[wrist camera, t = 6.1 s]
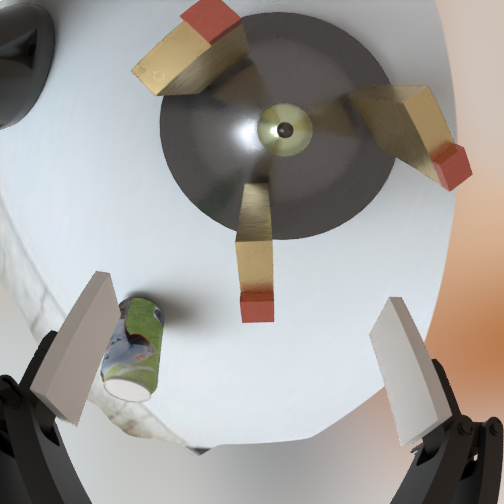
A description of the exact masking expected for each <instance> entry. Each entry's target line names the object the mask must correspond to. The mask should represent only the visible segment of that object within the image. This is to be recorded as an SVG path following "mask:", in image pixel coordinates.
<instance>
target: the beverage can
mask: <svg viewBox="0 0 504 504" xmlns="http://www.w3.org/2000/svg"><path fill="white" fill-rule="evenodd" d="M119 309H120V312H121V316H120V318H119V321H118V323H117V325H116V327H115V329H114V332H113V334H112V336H111V339H110V341H109V343H108V345H107V348H106V351H105V355H104V359H103V363H102V367H101V378H102V380H103V382H104V385H103V386H104V389H105V390H106V391H107V392H108V393H109V394H110V395H112V396H113V397H115V398H118V399H120V400H123V401H127V402H134V403H139V402H145V401H148V400H149V399H150V397H151V394H152V393H153V392H154V391H155V390H156V388H157V384H158V372H159V362H160V352H161V343H162V335H163V327H164V314H163V312H162V310H161V309H160V308H159V307H158V306H157V305H156V304H154V303H153V302H151V301H149V300H146V299H143V298H128V299H126V300H123V301H122V302H121V303H120V304H119Z"/></svg>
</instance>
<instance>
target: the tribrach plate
mask: <svg viewBox="0 0 504 504" xmlns="http://www.w3.org/2000/svg"><path fill="white" fill-rule="evenodd" d="M241 20H242V23H243V27H244V31H245V34H246V38H247V42H248V46H249V50H250V54H249V55H247V56H246V57H244V58H243V59H242V60H240V61H239V62H238V63H236V64H235V65H234V66H232V67H231V68H230V69H229V70H227V71H226V72H225V73H224V74H222V75H221V76H220V77H219V78H217V79H216V80H215V81H214V82H212V83H211V84H210V85H209V86H208V87H207V88H205V89H204V90H203V91H202V92H201V93H200V94H180V95H164V97H163V101H162V105H161V113H160V137H161V143H162V148H163V153H164V156H165V159H166V162H167V165H168V167H169V169H170V171H171V173H172V175H173V177H174V179H175V181H176V182H177V184H178V185H179V187H180V188H181V190H182V191H183V193H184V194H185V195H186V196H187V197H188V198H189V200H190V201H191V202H192V203H193V204H194V205H195V206H196V207H198V208H199V209H200V210H201V211H202V212H203V213H205V214H206V215H207V216H209V217H210V218H212V219H213V220H214V221H216V222H218V223H220V224H222V225H223V226H225V227H227V228H229V229H232V230H234V231H237V228H238V222H239V216H240V210H241V204H242V198H243V192H244V186H245V184H250V183H268V187H269V200H270V214H271V229H272V239H276V240H288V239H299V238H305V237H310V236H314V235H317V234H321V233H324V232H327V231H329V230H331V229H333V228H336V227H338V226H340V225H341V224H343V223H345V222H347V221H348V220H350V219H351V218H353V217H354V216H355V215H357V214H358V213H359V212H361V211H362V210H363V209H364V208H365V207H366V206H367V205H368V204H369V203H370V202H371V201H372V200H373V199H374V197H375V196H376V195H377V194H378V192H379V191H380V190H381V188H382V186H383V185H384V183H385V182H386V180H387V178H388V176H389V174H390V172H391V169H392V167H393V164H394V161H395V158H396V157H395V156H394V155H392V154H390V153H388V152H387V151H385V150H383V149H381V148H379V146H378V144H377V143H376V141H375V139H374V138H373V136H372V134H371V133H370V131H369V129H368V128H367V126H366V125H365V123H364V122H363V120H362V118H361V117H360V115H359V114H358V112H357V111H356V109H355V108H354V106H353V105H352V103H351V102H350V100H349V99H348V98H347V96H348V95H350V94H351V93H353V92H354V91H356V90H358V89H359V88H361V87H362V86H364V85H391V84H390V82H389V80H388V78H387V76H386V74H385V73H384V71H383V69H382V67H381V66H380V64H379V63H378V62H377V61H376V59H375V58H374V57H373V56H372V54H371V53H370V52H369V51H368V50H367V49H366V48H365V47H364V46H363V45H362V44H361V43H360V42H359V41H357V40H356V39H355V38H353V37H352V36H350V35H349V34H348V33H346V32H345V31H343V30H341V29H339V28H338V27H336V26H334V25H332V24H330V23H327V22H325V21H322V20H319V19H317V18H314V17H310V16H305V15H301V14H294V13H283V12H275V13H261V14H255V15H250V16H246V17H242V18H241Z"/></svg>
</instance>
